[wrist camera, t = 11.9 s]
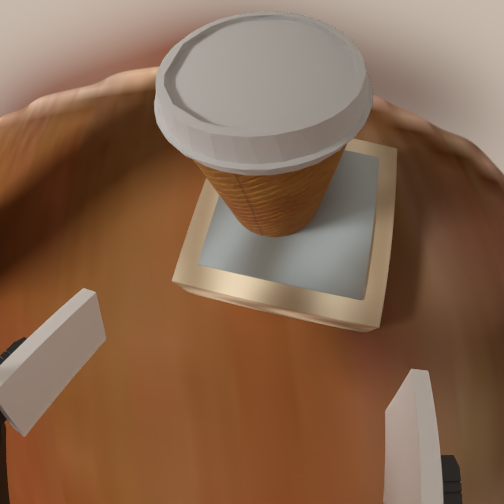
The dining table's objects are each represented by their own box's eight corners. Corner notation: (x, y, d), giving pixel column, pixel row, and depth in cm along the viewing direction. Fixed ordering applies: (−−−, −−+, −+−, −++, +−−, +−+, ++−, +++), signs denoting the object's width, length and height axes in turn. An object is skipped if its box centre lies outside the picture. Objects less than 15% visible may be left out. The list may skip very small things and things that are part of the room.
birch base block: (188, 292, 25) (170, 279, 21) (235, 147, 29) (228, 118, 25) (365, 332, 23) (380, 327, 19) (385, 174, 27) (397, 147, 23)
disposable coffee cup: (268, 123, 25) (251, -6, 13) (368, 190, 22) (414, 59, 11) (181, 204, 23) (105, 88, 12) (281, 291, 20) (270, 203, 9)
